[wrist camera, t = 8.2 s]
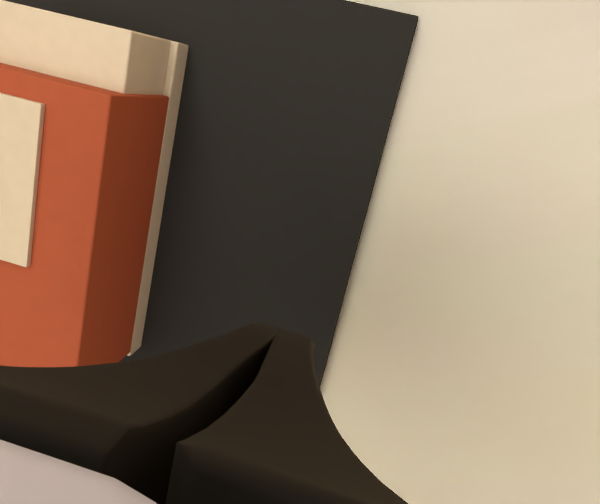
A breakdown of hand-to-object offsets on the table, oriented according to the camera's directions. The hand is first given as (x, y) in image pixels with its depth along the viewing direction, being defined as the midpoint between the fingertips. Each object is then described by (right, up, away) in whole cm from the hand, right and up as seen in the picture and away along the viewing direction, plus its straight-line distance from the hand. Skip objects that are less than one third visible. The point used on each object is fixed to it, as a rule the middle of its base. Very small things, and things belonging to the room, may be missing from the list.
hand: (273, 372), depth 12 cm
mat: (-5, +4, +10) cm, 12 cm away
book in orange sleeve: (-5, +4, +7) cm, 10 cm away
